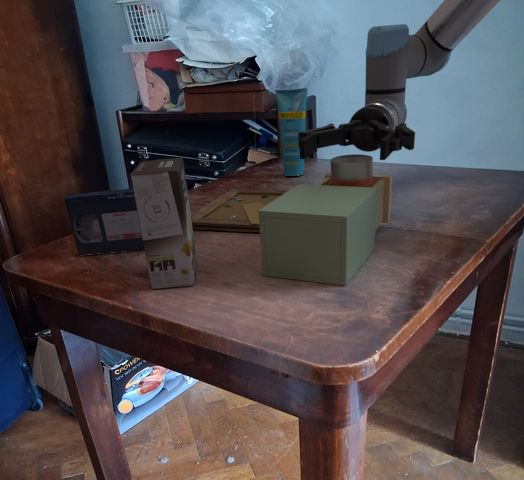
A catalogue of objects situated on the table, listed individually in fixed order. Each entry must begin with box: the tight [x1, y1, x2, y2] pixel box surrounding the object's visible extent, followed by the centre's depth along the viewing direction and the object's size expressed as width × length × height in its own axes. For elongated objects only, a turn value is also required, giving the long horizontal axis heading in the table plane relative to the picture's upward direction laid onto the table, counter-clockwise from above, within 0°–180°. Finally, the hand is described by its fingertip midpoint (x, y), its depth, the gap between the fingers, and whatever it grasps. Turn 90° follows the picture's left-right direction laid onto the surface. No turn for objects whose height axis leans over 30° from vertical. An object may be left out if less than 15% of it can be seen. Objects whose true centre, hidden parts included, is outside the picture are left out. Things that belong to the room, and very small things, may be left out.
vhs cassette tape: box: [63, 187, 145, 256], centre depth 89 cm, size 18×3×10 cm, turn 95°
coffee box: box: [130, 157, 198, 290], centre depth 76 cm, size 9×6×16 cm
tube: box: [274, 87, 308, 177], centre depth 126 cm, size 7×5×19 cm, turn 81°
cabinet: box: [258, 183, 377, 287], centre depth 78 cm, size 15×13×10 cm
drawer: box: [316, 172, 393, 231], centre depth 89 cm, size 18×11×8 cm, turn 154°
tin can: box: [330, 153, 374, 187], centre depth 86 cm, size 7×7×10 cm
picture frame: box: [191, 188, 290, 234], centre depth 105 cm, size 19×2×24 cm
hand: (341, 150), depth 80 cm, fingers open, 12 cm apart
